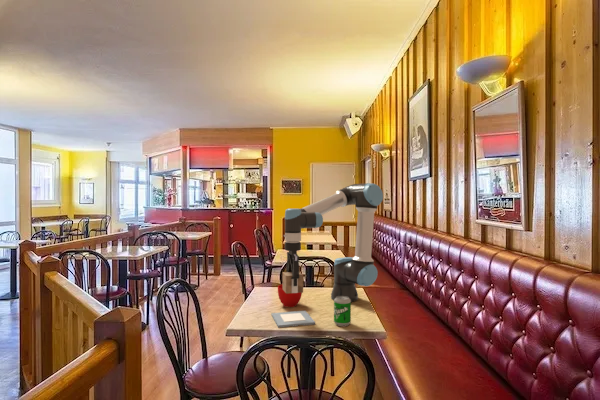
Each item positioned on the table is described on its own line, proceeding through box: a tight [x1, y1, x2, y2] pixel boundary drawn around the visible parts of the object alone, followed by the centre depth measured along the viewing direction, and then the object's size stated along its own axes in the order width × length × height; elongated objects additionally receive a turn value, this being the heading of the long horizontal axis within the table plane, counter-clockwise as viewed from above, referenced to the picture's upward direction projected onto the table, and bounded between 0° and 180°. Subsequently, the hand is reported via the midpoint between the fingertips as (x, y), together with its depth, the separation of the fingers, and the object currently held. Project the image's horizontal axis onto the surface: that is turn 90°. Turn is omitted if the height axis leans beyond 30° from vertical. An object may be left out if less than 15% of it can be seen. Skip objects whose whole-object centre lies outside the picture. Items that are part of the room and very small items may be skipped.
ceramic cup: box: [277, 283, 303, 308], centre depth 195 cm, size 13×17×10 cm
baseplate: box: [271, 310, 316, 329], centre depth 171 cm, size 17×17×1 cm
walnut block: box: [282, 271, 304, 294], centre depth 170 cm, size 8×8×8 cm
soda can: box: [333, 296, 352, 327], centre depth 165 cm, size 8×8×12 cm
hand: (292, 290), depth 171 cm, fingers closed on walnut block, 8 cm apart
